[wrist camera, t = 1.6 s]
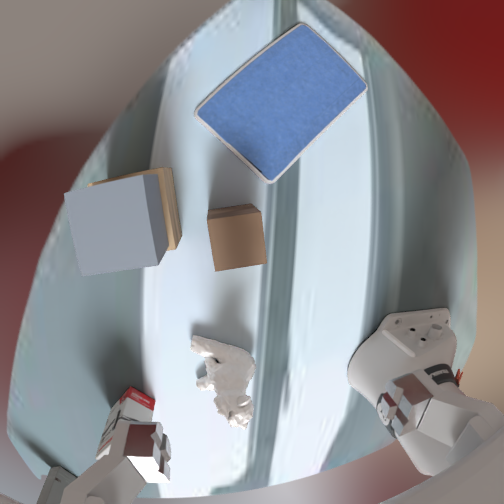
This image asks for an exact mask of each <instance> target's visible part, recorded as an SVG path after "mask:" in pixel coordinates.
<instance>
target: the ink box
mask: <svg viewBox="0 0 504 504" xmlns="http://www.w3.org/2000/svg"><path fill="white" fill-rule="evenodd" d="M154 405H155V400H154V399H152V398H150V397H149V396H147V395H145V394H143V393H142V392H140V391H138V390H137V389H135V388H133V387H131V386H130V388H129V389H128V390H127V391H126V392H125V393H124V394H123V396H122V397H121V398H120V399H119V400H118V401H117V402H116V404H115V405H114V406H113V407H112V408H111V411H110V413H109V416H108V419H107V422H106V425H105V429H104V432H103V434H102V437H101V441H100V444H99V447H98V450H97V454H96V457H95V459H97V460H99V459H100V458H101V457H102V456H104V455H108V454H109V450H110V446H111V442H112V438H113V434H114V431H115V427H116V424H117V422H118V421H140V422H151V421H152V416H153V410H154Z"/></svg>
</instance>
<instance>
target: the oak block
mask: <svg viewBox="0 0 504 504" xmlns="http://www.w3.org/2000/svg"><path fill="white" fill-rule="evenodd" d="M146 174H158V179H159V187H160V194H161V200H162V207H163V213H164V219H165V225H166V231H167V237H168V242H169V247H168V249H167V250H166V251H168V250H175V249H176V248H177V246H178V244H179V242H180V239H181V237H182V233H181V227H180V221H179V215H178V209H177V202H176V196H175V189H174V182H173V175H172V168H166V167H161V168H156V169H151V170H146V171H141V172H136V173H132V174H127V175H123V176H118V177H114V178H110V179H106V180H101V181H98V182H94V183H90V184H88V187H90V186H94V185H98V184H102V183H106V182H111V181H115V180H120V179H124V178H129V177H134V176H139V175H146Z"/></svg>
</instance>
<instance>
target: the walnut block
mask: <svg viewBox="0 0 504 504" xmlns="http://www.w3.org/2000/svg"><path fill="white" fill-rule="evenodd" d="M207 224H208V230H209V237H210V243H211V249H212V255H213V261H214V266H215V272H216V271H222V270H228V269H235V268H241V267H247V266H254V265H260V264H266V263H267V259H266V250H265V241H264V233H263V224H262V216H261V212H260V211H259V210H258V209H257V208H256V207H255V206H253V205H252V204H245V205H238V206H231V207H225V208H218V209H212V210H208V215H207Z"/></svg>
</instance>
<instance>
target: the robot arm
mask: <svg viewBox="0 0 504 504" xmlns="http://www.w3.org/2000/svg"><path fill="white" fill-rule="evenodd" d="M396 320H397V321H396ZM450 325H451V318H450V313H449V310H448V309H447V308H437V309H429V310H420V311H411V312H402V313H392V314H389V315H387V316H386V317H385V318H384V320H383V321H382V323H381V324H380V326H379V327H378V329H377V330H376V332H375V333H374V334H372V335H371V336H370V337H369V338H368V339H367V340H366V341H365V342H364V343H363V344H362V345H361V346H360V347H359V349H358V350H357V351H356V353H355V354H354V356H353V357H352V359H351V362H350V364H349V367H348V372H347V378H348V382H349V384H350V385H351V387H352V388H354V389H355V390H357V391H358V392H359V393H361V394H362V395H363V396H364V397H365V398H366V399H367V400H368V401H369V402H370V403H371V404H372V405H373V406H374V407H375V408H376V410H377V413H378V415H379V417H380V419H381V420H382V422H383V423H384V425H385V426H386V428H387V429H388V431H389V432H390V433H391V435H392V436H393V437H394V438H396V439H398V440H399V442H400V443H401V445H402V446H403V448H404V449H405V451H406V452H407V454H408V455H409V457H410V459H411V460H412V462H413V463H414V465H415V466H416V468H417V469H418V471H419V472H421V473H422V474H425V475H431V476H433V477H431V478H430V479H428V480H426V481H424V482H423V483H421V484H419V485H417V486H415V487H413V488H411V489H409V490H408V491H405V492H403V493H401V494H399V495H397V496H395V497H393V498H390V499H388V500H386V501H384V502H381V503H379V504H504V415H503V414H502V413H501V412H500V411H499V410H498V409H497V408H496V407H495V406H494V405H493V404H492V403H489V402H486V401H482V400H478V399H475V398H471V397H468V396H466V395H465V394H464V393H463V392H462V391H461V390H460V389H459V381H460V379H461V376H462V374H463V372H462V373H461V374H460V369H458V371H457V374H456V376H455V377H454V375H453V372H452V370H451V369H452V365H453V361H454V357H455V353H456V347H457V340H456V336H455V334H454V332H453V331H452V330H451V329H450ZM459 375H460V376H459ZM170 459H171V447H170V442H169V439H168V437H167V435H165V434H164V433H163V427H162V425H161V423H160V422H140V421H118V422H117V424H116V427H115V431H114V434H113V438H112V442H111V446H110V450H109V454H108V455H104V456H102V457H101V458H100V459H99V460H98V461H97V462H96V463H94V464H93V465H92V466H91V467H90V468H88V469H87V470H86V471H85V472H84V473H83V474H81V475H80V476H79V477H78V478H77V479H75V480H74V481H73V482H72V483H70V484H69V485H68V486H67V487H66V488H64V491H63V495H62V499H61V503H60V504H131V503H132V502H133V500H134V499H135V498H136V497H137V495H138V494H139V493H140V492H141V490H142V489H143V488H144V486H145V485H146V484H147V483H146V482H152V483H169V481H170V467H169V465H168V464H167V462H168V461H169V460H170ZM0 504H23V503H21V502H18V501H16V500H14V499H12V498H10V497H8V496H6V495H4V494H2V493H0Z"/></svg>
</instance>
